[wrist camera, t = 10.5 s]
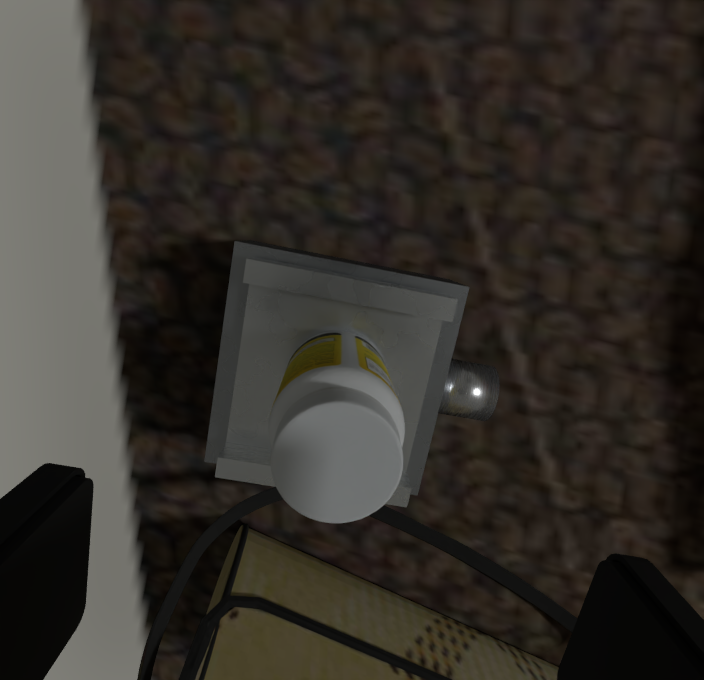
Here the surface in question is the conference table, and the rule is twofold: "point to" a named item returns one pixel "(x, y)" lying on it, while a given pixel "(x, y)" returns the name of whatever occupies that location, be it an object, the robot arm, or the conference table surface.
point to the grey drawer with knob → (348, 316)
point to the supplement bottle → (336, 430)
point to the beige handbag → (334, 617)
